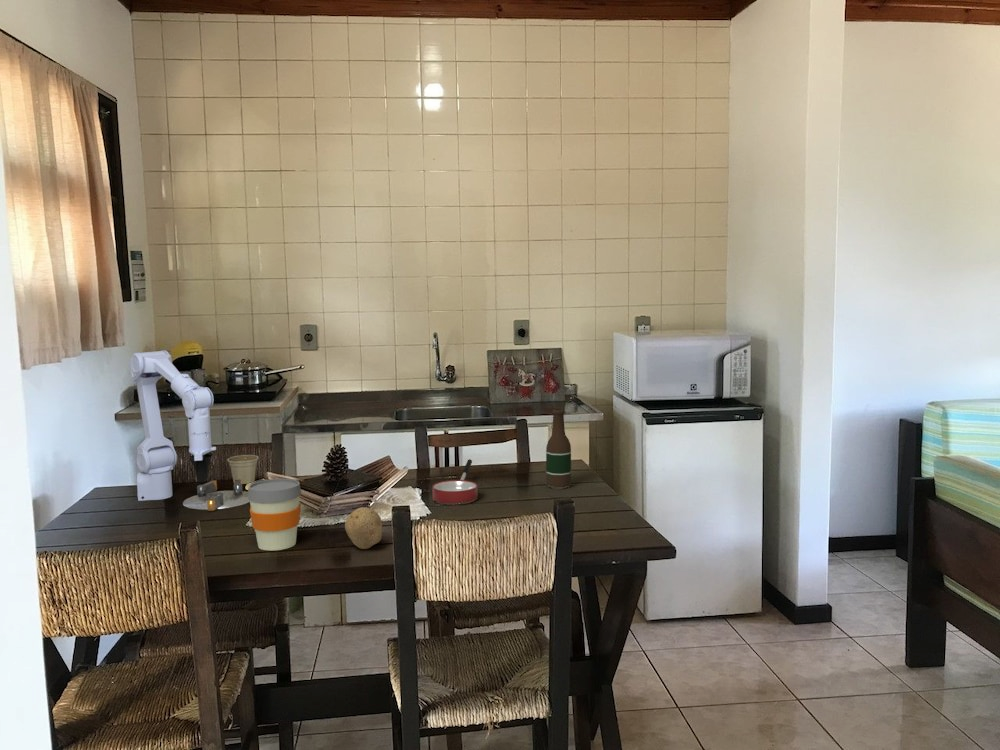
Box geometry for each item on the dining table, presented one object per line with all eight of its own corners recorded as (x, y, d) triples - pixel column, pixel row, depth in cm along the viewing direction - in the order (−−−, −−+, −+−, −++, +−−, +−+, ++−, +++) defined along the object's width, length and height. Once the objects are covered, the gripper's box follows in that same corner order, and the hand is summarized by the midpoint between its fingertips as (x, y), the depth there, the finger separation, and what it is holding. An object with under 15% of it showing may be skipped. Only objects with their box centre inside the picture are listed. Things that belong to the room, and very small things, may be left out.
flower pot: (254, 488, 258) (253, 461, 256) (224, 489, 258) (222, 461, 257) (263, 481, 267) (262, 454, 266) (234, 481, 267) (233, 455, 266)
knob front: (216, 502, 237) (215, 492, 236) (224, 502, 237) (224, 492, 236) (205, 511, 228) (205, 500, 228) (214, 511, 228) (214, 500, 228)
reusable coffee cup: (299, 551, 198) (296, 490, 196) (245, 554, 197) (241, 492, 195) (306, 535, 210) (304, 477, 209) (256, 537, 210) (253, 479, 208)
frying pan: (442, 478, 267) (441, 459, 267) (482, 478, 267) (482, 459, 266) (430, 506, 236) (429, 484, 235) (476, 506, 235) (475, 484, 234)
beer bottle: (554, 482, 261) (554, 406, 258) (576, 485, 256) (576, 408, 253) (541, 487, 254) (540, 409, 251) (563, 491, 250) (562, 412, 247)
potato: (349, 542, 205) (347, 502, 204) (385, 541, 205) (384, 502, 204) (343, 554, 196) (341, 513, 194) (381, 553, 196) (379, 512, 195)
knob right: (242, 494, 245) (242, 484, 244) (234, 495, 244) (233, 485, 244) (242, 488, 253) (241, 478, 252) (234, 488, 252) (233, 479, 252)
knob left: (203, 497, 243) (202, 487, 243) (195, 496, 243) (195, 486, 243) (218, 489, 251) (218, 480, 251) (211, 489, 252) (211, 479, 251)
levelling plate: (180, 516, 229) (180, 507, 229) (185, 498, 248) (184, 490, 247) (256, 509, 235) (256, 501, 234) (255, 491, 254) (254, 484, 253)
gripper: (212, 436, 222) (215, 486, 224) (217, 426, 236) (219, 473, 238) (184, 438, 220) (187, 488, 222) (190, 428, 234) (193, 475, 236)
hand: (202, 480), depth 230 cm, fingers closed
